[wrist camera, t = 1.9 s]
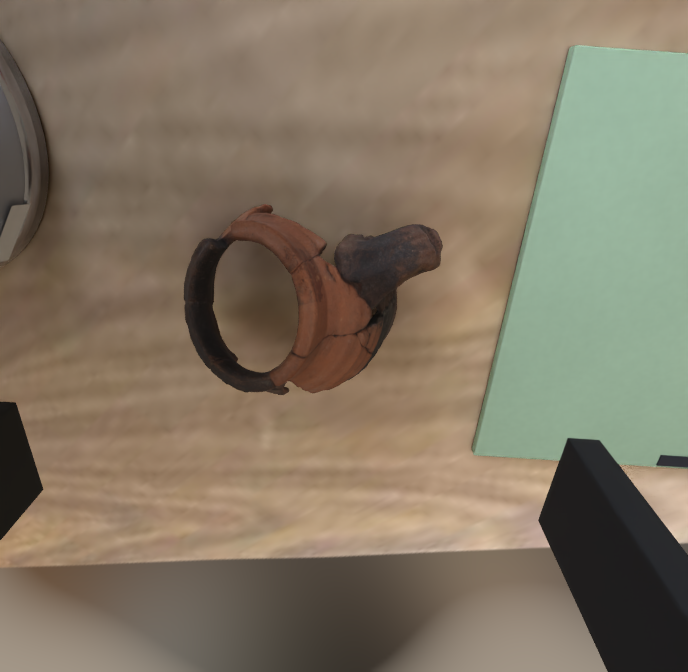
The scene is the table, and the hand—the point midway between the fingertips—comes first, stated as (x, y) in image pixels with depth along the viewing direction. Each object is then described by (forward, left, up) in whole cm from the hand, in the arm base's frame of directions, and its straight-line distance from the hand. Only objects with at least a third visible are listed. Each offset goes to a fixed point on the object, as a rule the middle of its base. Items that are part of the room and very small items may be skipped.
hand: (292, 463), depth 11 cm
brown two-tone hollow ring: (0, 0, -14) cm, 14 cm away
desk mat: (+20, 0, -14) cm, 25 cm away
